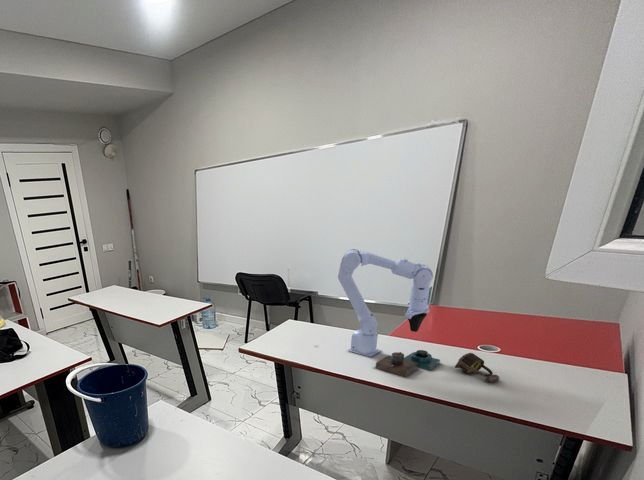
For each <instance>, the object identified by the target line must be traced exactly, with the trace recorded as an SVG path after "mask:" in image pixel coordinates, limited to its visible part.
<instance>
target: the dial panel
mask: <svg viewBox="0 0 644 480" xmlns="http://www.w3.org/2000/svg"><path fill="white" fill-rule="evenodd" d="M391 357H392V355H389V354H388V355H387V356H385V357H383V358H382V359H379V360H377V362H375V369H377V370H380V371H383V372H387V373H390V374H394V375H397V376H401V377H403V378H407V377H408V376H409V375H411V374H412V373H414V372H415V371H416V370H418V368H419V367H418V363H416V362H412V361H408V360H404V361H403V364H402V365H394V364H392V363H391Z"/></svg>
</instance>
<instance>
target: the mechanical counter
mask: <svg viewBox="0 0 644 480" xmlns="http://www.w3.org/2000/svg"><path fill="white" fill-rule="evenodd" d="M454 369H461V370H462V371H464V372H465V373H467V374H468V375H471V374H477V375H479V376H481V377H485V380H486V381H487V382H488V383H496V382H497V381H499V380H500V376H499V375H498V374H494V372H493V371H492V370H491V369H490V368H489V366H486V365H485V360H483V358H481V357H480V356H478V355H476V354H475V353H473V352H468V353H465V354H463V355H462V356H461V357H459V358H458V361H457V362H456V364H455V365H454ZM481 369H484V370H486V371H487V372H488V373H484V372H481V371H480V370H481Z"/></svg>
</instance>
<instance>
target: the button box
mask: <svg viewBox="0 0 644 480" xmlns="http://www.w3.org/2000/svg"><path fill="white" fill-rule="evenodd" d="M404 360H408V361H412V362H416V363H418V368H419V369H423V370H427V371H431V370H433V369H434V368H435V367H437V366H438V365H440V363H441V359H439V358H435V357H433V356H432V354H430V353H429V352H428V354H427V357H418V356H416V351H413V352H411V353H410V354H408V355H406V356H404Z"/></svg>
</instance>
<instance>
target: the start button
mask: <svg viewBox="0 0 644 480" xmlns="http://www.w3.org/2000/svg"><path fill="white" fill-rule="evenodd" d="M415 352H416V356H418V357H427V354H428V353H429V352H428V351H427V350H424V349H418V350H416V351H415Z"/></svg>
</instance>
